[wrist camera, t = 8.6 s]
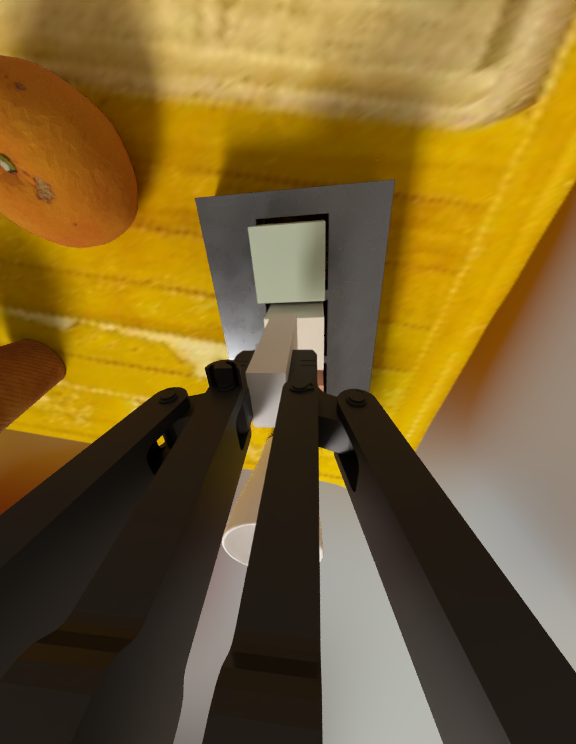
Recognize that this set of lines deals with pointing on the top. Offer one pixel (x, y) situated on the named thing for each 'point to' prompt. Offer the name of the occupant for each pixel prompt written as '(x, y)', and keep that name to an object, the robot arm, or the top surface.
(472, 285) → the top surface
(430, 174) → the top surface
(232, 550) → the cup
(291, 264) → the key sage
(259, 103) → the top surface
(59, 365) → the disposable coffee cup
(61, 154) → the fruit
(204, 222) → the panel
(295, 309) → the key cream
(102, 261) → the top surface
